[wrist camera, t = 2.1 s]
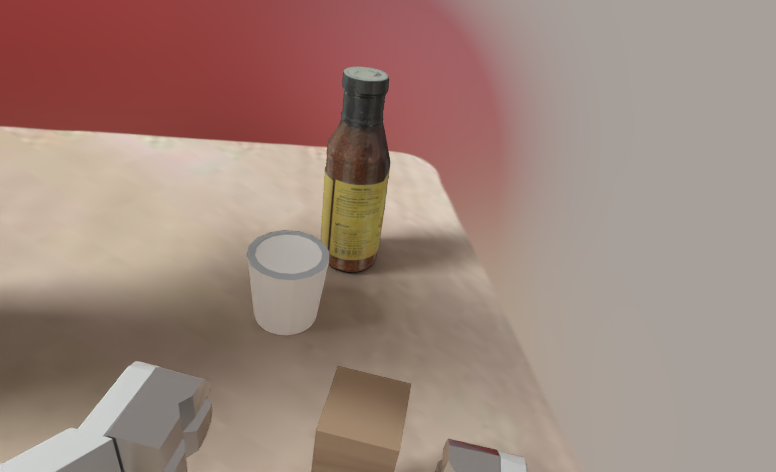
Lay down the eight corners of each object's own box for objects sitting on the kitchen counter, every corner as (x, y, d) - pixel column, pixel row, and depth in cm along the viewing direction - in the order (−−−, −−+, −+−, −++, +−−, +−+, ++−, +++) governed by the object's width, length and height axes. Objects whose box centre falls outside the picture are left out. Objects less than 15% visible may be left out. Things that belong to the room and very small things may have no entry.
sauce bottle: (388, 261, 55) (423, 82, 43) (345, 283, 51) (372, 92, 39) (347, 232, 58) (370, 59, 47) (305, 250, 54) (318, 65, 43)
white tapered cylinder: (299, 279, 50) (303, 221, 46) (337, 323, 46) (345, 263, 42) (234, 302, 46) (232, 241, 42) (269, 352, 42) (271, 289, 38)
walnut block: (366, 565, 30) (399, 451, 23) (302, 548, 30) (316, 430, 23) (379, 500, 33) (411, 383, 26) (321, 485, 33) (338, 365, 27)
